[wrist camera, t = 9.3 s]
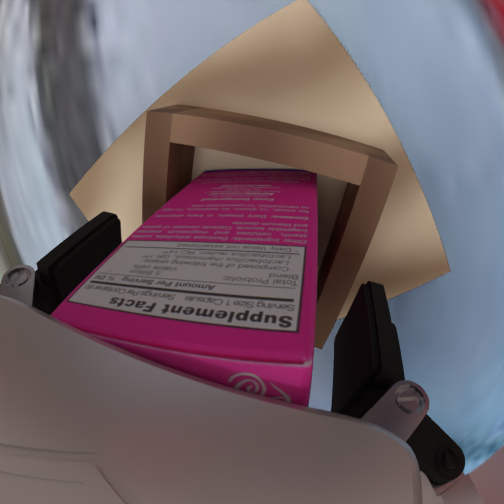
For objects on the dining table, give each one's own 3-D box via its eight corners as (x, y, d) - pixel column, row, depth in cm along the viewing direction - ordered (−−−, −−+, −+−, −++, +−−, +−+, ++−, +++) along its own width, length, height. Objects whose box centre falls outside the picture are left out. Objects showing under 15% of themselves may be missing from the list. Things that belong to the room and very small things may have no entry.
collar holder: (445, 261, 16) (467, 304, 12) (214, 351, 24) (198, 390, 20) (305, 2, 11) (299, -26, 7) (78, 188, 18) (39, 212, 15)
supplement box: (318, 271, 17) (295, 483, 7) (215, 265, 18) (119, 442, 8) (322, 166, 14) (314, 375, 4) (202, 167, 15) (31, 318, 5)
